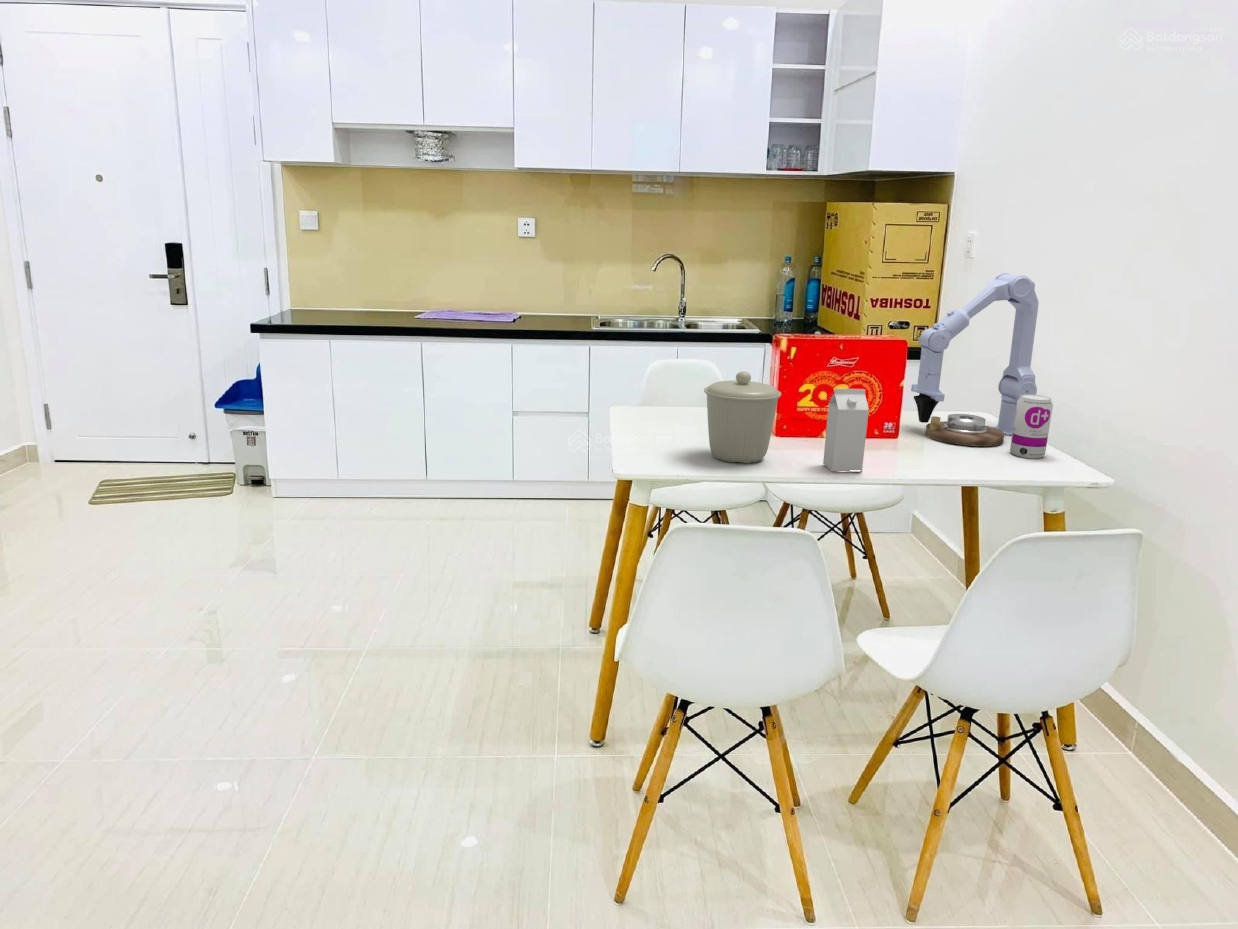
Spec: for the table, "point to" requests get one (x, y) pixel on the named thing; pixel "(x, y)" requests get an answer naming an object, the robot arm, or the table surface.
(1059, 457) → the table surface
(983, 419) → the cover
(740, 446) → the canister
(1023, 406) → the supplement can
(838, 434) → the milk carton
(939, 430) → the turntable
